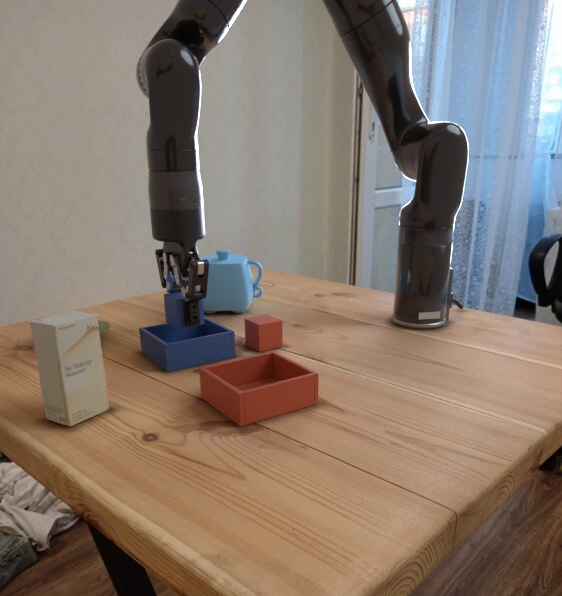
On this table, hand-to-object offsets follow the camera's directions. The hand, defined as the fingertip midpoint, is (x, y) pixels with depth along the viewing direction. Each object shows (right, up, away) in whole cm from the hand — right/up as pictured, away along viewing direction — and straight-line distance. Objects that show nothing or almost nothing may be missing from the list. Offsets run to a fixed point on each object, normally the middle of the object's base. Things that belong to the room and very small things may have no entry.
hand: (185, 321), depth 87 cm
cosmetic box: (-10, -13, -17) cm, 24 cm away
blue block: (0, 0, 0) cm, 0 cm away
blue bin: (0, -5, +2) cm, 5 cm away
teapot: (+2, +5, +28) cm, 28 cm away
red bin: (+12, -11, -14) cm, 22 cm away
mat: (-20, -2, +10) cm, 22 cm away
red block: (+12, -3, +6) cm, 13 cm away
